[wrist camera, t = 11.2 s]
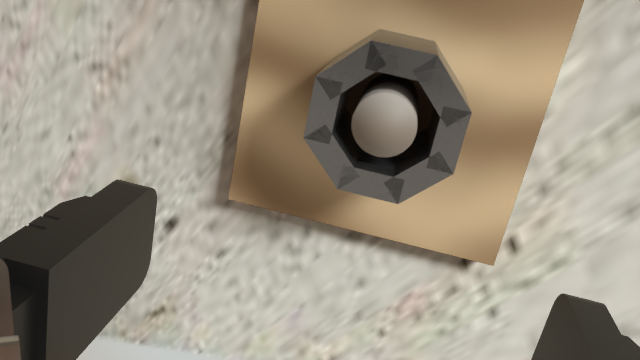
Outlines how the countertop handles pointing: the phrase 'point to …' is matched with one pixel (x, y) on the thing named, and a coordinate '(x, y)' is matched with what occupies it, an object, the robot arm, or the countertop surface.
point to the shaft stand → (402, 113)
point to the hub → (429, 144)
